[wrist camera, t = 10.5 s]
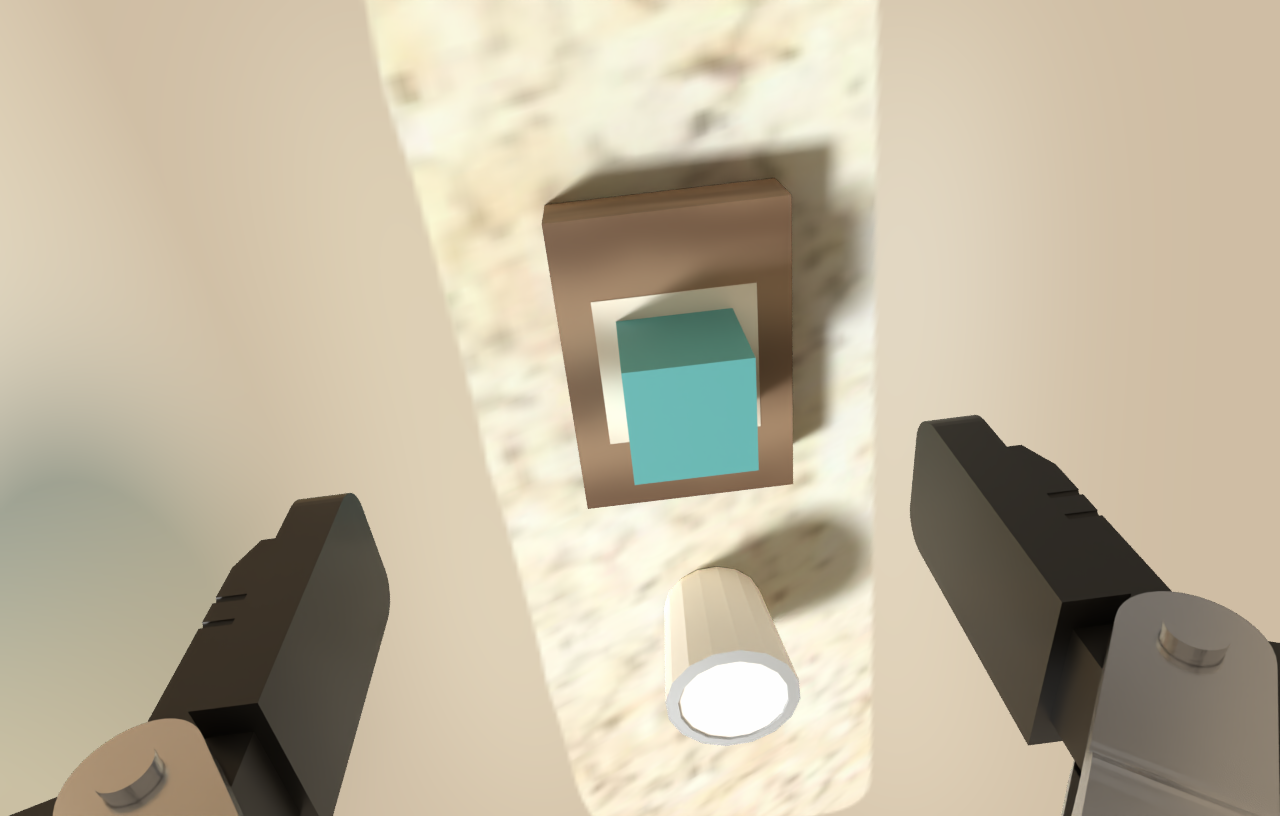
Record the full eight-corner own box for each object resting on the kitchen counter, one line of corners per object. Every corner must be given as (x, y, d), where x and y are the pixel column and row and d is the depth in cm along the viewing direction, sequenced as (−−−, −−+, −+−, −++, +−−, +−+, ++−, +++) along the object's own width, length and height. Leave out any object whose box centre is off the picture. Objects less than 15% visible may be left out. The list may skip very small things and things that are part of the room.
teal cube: (615, 321, 33) (621, 373, 29) (732, 308, 33) (755, 357, 29) (627, 422, 36) (634, 485, 31) (736, 409, 36) (758, 470, 31)
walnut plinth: (544, 204, 34) (541, 224, 31) (775, 178, 34) (791, 195, 31) (587, 474, 41) (587, 509, 38) (779, 451, 41) (793, 484, 38)
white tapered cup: (778, 557, 44) (810, 650, 38) (764, 646, 47) (791, 746, 41) (656, 558, 44) (669, 653, 37) (650, 649, 47) (661, 750, 41)
